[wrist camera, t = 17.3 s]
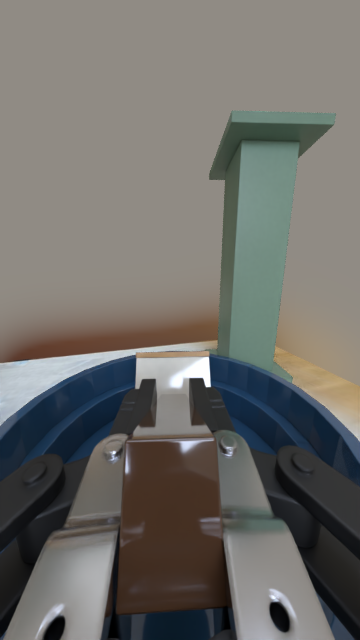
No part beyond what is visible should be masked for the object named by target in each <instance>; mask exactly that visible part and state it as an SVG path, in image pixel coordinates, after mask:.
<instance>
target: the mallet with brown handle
mask: <svg viewBox="0 0 360 640" xmlns="http://www.w3.org/2000/svg"><path fill="white" fill-rule="evenodd" d="M209 356H210V354H209V351H190V352H143V353H136V358H137V359H136V383H135V389H139V387H140V384H141V380H142V379H156V383H157V401H156V402H155V404H154V405H153V406H152V407H151V409H150V410H149V411H148V412H147V413H146V415H145V416H144V417H143V419H142V420H141V421H140V422H139V424H138V425H137V426H136V428H135V429H134V430H133V431H132V433H131V434H130V435H129V437H128V438H127V439H126V440H125V443H124V460H123V479H122V497H121V516H120V534H119V553H118V571H117V590H116V608H115V609H116V614H117V615H133V614H147V613H162V612H176V611H190V610H205V609H219V608H226V607H227V603H226V590H225V568H224V546H223V520H222V506H221V492H220V478H219V465H218V451H217V439H216V437H215V435H214V434H213V433H212V431H211V430H210V428H209V427H208V425H207V424H206V422H205V421H204V420H203V418H202V417H201V415H200V414H199V412H198V411H197V409H196V408H195V407H194V406H193V404H192V403H191V401H190V400H189V378H202V377H203V379H204V382H205V385H206V387H211V380H210V365H209Z"/></svg>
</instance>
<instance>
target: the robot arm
mask: <svg viewBox="0 0 360 640" xmlns="http://www.w3.org/2000/svg"><path fill="white" fill-rule="evenodd" d="M189 400H190V401H191V403H192V404H193V406H194V407H195V408H196V409H197V411H198V412H199V414H200V415H201V417H202V418H203V420H204V421H205V422H206V424H207V425H208V427H209V428H210V430H211V431H212V433H213V434H214V435H215V437H216V439H217V451H218V465H219V478H220V492H221V506H222V520H223V546H224V568H225V590H226V603H227V607H226V608H219V609H213V617H214V635H215V636H213V637H212V638H210V639H208V640H335V638H334V636H333V633H332V631H331V629H330V626H329V624H328V621H327V619H326V616H325V614H324V611H323V609H322V607H321V604H320V602H319V599H318V597H317V594H318V595H319V596H320V597H321V599H322V600H323V601H324V602H325V604H326V605H327V606H328V607H329V609H330V610H331V611H332V612H333V613H334V615H335V616H336V617H337V618H338V620H339V621H340V622H341V623H342V625H343V626H344V627H345V628H346V629H347V631H348V632H349V633H350V634H351V636H352V637H353V638H354V639H355V640H360V487H359V486H358V485H357V484H355V483H354V482H352V481H351V480H349V479H348V478H347V477H345V476H344V475H342V474H341V473H339V472H338V471H337V470H335V469H334V468H332V467H331V466H329V465H328V464H327V463H325V462H324V461H322V460H321V459H319V458H318V457H316V456H315V455H314V454H312V453H311V452H309V451H307V450H305V449H303V448H300V447H297V446H290V445H288V446H283V447H281V448H280V449H279V450H278V452H277V456H276V455H272V454H268V453H265V452H261V451H257V450H255V449H253V448H251V447H249V446H248V444H247V442H246V441H245V440H244V439H243V438H242V437H241V436H240V435H238V434H237V433H236V431H235V428H234V426H233V424H232V421H231V419H230V416H229V414H228V411H227V409H226V407H225V404H224V402H223V399H222V396H221V394H220V392H219V391H217V390H216V389H215V388H214V387H206V385H205V382H204V379H203V377H202V378H189ZM156 401H157V383H156V379H142V380H141V384H140V387H139V389H131V390H130V391H129V392H128V393H127V394H126V395H125V396H124V398H123V401H122V405H121V406H120V408H119V411H118V413H117V416H116V418H115V421H114V423H113V426H112V428H111V431H110V433H109V436H108V437H106V438H104V439H103V440H101V441H100V442H99V443H98V444H97V445H96V446H95V448H94V449H93V452H92V454H91V455H89V456H87V457H84V458H82V459H79V460H75V461H72V462H69V463H66V464H63V460H62V458H61V457H60V456H59V455H57V454H45V455H41V456H38V457H36V458H34V459H32V460H30V461H28V462H27V463H25V464H24V465H22V466H21V467H19V468H18V469H17V470H15V471H14V472H13V473H11V474H10V475H9V476H7V477H6V478H4V479H3V480H2V481H0V552H1V551H2V550H3V549H4V548H5V547H6V546H7V545H8V544H9V543H10V542H11V541H12V540H13V539H14V538H16V539H15V540H14V541H13V542H12V543H11V544H10V545H9V546H8V547H7V548H6V549H5V550H4V551H3V552H2V553H1V554H0V638H1V637H2V636H3V634H4V633H5V632H6V630H7V632H6V634H5V636H4V639H3V640H131V625H132V615H117V614H116V609H115V608H116V590H117V571H118V553H119V534H120V516H121V497H122V479H123V460H124V443H125V440H126V439H127V438H128V437H129V435H130V434H131V433H132V431H133V430H134V429H135V428H136V426H137V425H138V424H139V422H140V421H141V420H142V419H143V417H144V416H145V415H146V413H147V412H148V411H149V410H150V409H151V407H152V406H153V405H154V404H155V402H156ZM315 591H316V592H315ZM316 593H317V594H316Z"/></svg>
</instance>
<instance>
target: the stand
mask: <svg viewBox="0 0 360 640" xmlns="http://www.w3.org/2000/svg"><path fill="white" fill-rule="evenodd" d="M335 116H336V114H335V113H301V112H265V111H232V112H231V115H230V118H229V120H228V123H227V126H226V129H225V131H224V134H223V137H222V140H221V143H220V145H219V148H218V151H217V154H216V157H215V159H214V162H213V165H212V168H211V170H210V174H209V179H210V180H225V195H224V217H223V238H222V260H221V261H222V262H221V283H220V304H219V327H218V329H219V330H218V348H217V349H210V350H205V351H209V353H210V354H215V355H220V356H224V357H229V358H233V359H237V360H240V361H243V362H246V363H250V364H252V365H255V366H257V367H260V368H262V369H264V370H267V371H269V372H272V373H274V374H276V375H278V376H280V377H281V378H283V379H285V380H287V381H288V382H290V383H292V380H293V377H292V376H291V375H290V374H288V373H287V372H286V371H285V370H284V369H282V368H281V367H280V366H279V365H278V364H277V363H275V362H274V361H273V359H274V351H275V343H276V334H277V326H278V318H279V310H280V301H281V293H282V285H283V276H284V268H285V260H286V252H287V243H288V234H289V227H290V218H291V211H292V202H293V194H294V186H295V178H296V168H297V161H298V158H299V157H300V156H301V155H302V154H303V153H304V152H305V151H306V150H307V149H308V148H310V147H311V146H312V145H313V144H314V143H315V142H316V141H317V140H318V139H319V138H320V137H321V136H323V135H324V134H325V133H326V132H327V131H328V130H329V129H330V128H331V127H332V126H333V125H334V123H335Z"/></svg>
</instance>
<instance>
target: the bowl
mask: <svg viewBox="0 0 360 640" xmlns="http://www.w3.org/2000/svg"><path fill="white" fill-rule="evenodd" d="M166 352H190V351H166ZM209 354H210V353H209ZM136 359H137V358H136V355H132V356H128V357H124V358H120V359H116V360H112V361H109V362H106V363H103V364H100V365H98V366H95V367H92V368H89V369H86V370H84V371H82V372H80V373H78V374H76V375H73V376H71V377H69V378H67V379H65V380H63V381H61V382H60V383H58V384H56V385H55V386H53V387H52V388H50V389H48V390H47V391H45V392H43V393H42V394H40V395H38V396H37V397H35V398H34V399H32V400H31V401H30V402H29V403H27V404H26V405H25V406H23V407H22V408H21V409H20V410H18V411H17V412H16V413H14V414H13V415H12V416H11V417H9V418H8V419H7V420H6V421H5V422H4V423H3V424H2V425H1V426H0V481H2V480H3V479H4V478H6V477H7V476H9V475H10V474H11V473H13V472H14V471H15V470H17V469H18V468H19V467H21V466H22V465H24V464H25V463H27V462H28V461H30V460H32V459H34V458H36V457H38V456H41V455H45V454H57V455H59V456H60V457H61V458H62V460H63V464H66V463H69V462H72V461H75V460H79V459H82V458H84V457H87V456H89V455H91V454H92V452H93V449H94V448H95V446H96V445H97V444H98V443H99V442H100V441H101V440H103V439H104V438H106V437H108V436H109V433H110V431H111V428H112V426H113V423H114V421H115V418H116V416H117V413H118V411H119V408H120V406H121V405H122V401H123V398H124V396H125V395H126V394H127V393H128V392H129V391H130V390H131V389H135V383H136ZM209 365H210V380H211V387H214V388H215V389H216V390H217V391H219V392H220V394H221V396H222V399H223V402H224V404H225V407H226V409H227V411H228V414H229V416H230V419H231V421H232V424H233V426H234V428H235V431H236V433H237V434H238V435H240V436H241V437H242V438H243V439H244V440H245V441H246V442H247V444H248V446H249V447H251V448H253V449H255V450H257V451H261V452H265V453H268V454H272V455H276V456H277V452H278V450H279V449H280V448H281V447H283V446H288V445H290V446H297V447H300V448H303V449H305V450H307V451H309V452H311V453H312V454H314V455H315V456H316V457H318V458H319V459H321V460H322V461H324V462H325V463H327V464H328V465H329V466H331V467H332V468H334V469H335V470H337V471H338V472H339V473H341V474H342V475H344V476H345V477H347V478H348V479H349V480H351V481H352V482H354V483H355V484H357V485H358V486H359V487H360V442H359V440H358V439H357V438H356V437H355V436H354V435H353V434H352V433H351V432H350V431H349V430H348V429H347V428H346V427H345V426H344V425H343V424H342V423H341V422H340V421H339V420H338V419H337V418H336V417H335V416H334V415H333V414H332V413H331V412H330V411H329V410H328V409H327V408H325V406H323V405H322V404H320V403H319V402H318V401H316V400H315V399H314V398H312V397H311V396H310V395H308V394H307V393H306V392H304V391H303V390H302V389H300V388H299V387H297V386H296V385H294V384H292V383H290V382H288V381H287V380H285V379H283V378H281V377H280V376H278V375H276V374H274V373H272V372H269V371H267V370H264V369H262V368H260V367H257V366H255V365H252V364H250V363H246V362H243V361H240V360H237V359H233V358H229V357H224V356H220V355H215V354H210V356H209ZM15 539H16V538H14V539H13V540H12V541H11V542H10V543H9V544H8V545H7V546H6V547H5V548H4V549H3V550H2V551H1V552H0V554H1V553H2V552H3V551H4V550H5V549H6V548H7V547H8V546H9V545H10V544H11V543H12V542H13V541H14V540H15ZM315 592H316V591H315ZM316 594H317V593H316ZM317 597H318V599H319V602H320V604H321V607H322V609H323V611H324V614H325V616H326V619H327V621H328V624H329V626H330V629H331V631H332V633H333V636H334V638H335V640H355V639H354V638H353V637H352V636H351V634H350V633H349V632H348V631H347V629H346V628H345V627H344V626H343V625H342V623H341V622H340V621H339V620H338V618H337V617H336V616H335V615H334V613H333V612H332V611H331V610H330V609H329V607H328V606H327V605H326V604H325V602H324V601H323V600H322V599H321V597H320V596H319V595H318V594H317ZM6 632H7V630H6ZM6 632H5V633H4V634H3V636H2V637H1V638H0V640H3V639H4V636H5V634H6ZM213 636H215V635H214V617H213V609H205V610H190V611H176V612H162V613H147V614H133V615H132V625H131V640H208V639H210V638H212V637H213Z"/></svg>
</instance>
